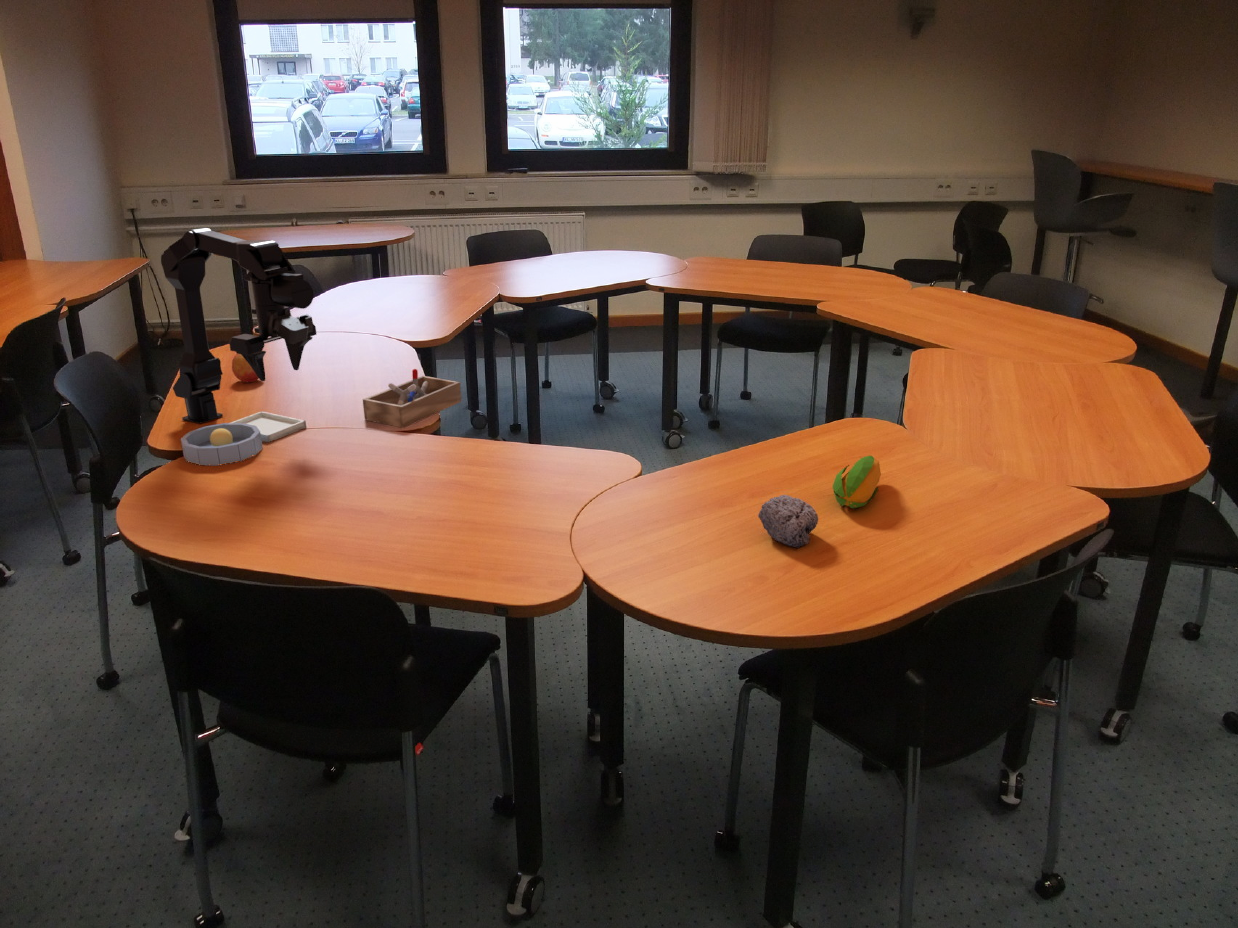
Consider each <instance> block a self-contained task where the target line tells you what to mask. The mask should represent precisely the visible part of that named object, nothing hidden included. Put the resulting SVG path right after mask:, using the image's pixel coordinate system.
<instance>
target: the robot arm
mask: <svg viewBox="0 0 1238 928" xmlns="http://www.w3.org/2000/svg"><path fill="white" fill-rule="evenodd" d="M212 254H214V255H217V256H220V257H222V258H223V257H224V258H227V259H231V260H233V261H236V262H237V264H238V265H239V267H241V268H243V269H245V270H246V271H248V273H246V274H245V275H244V276H243V280H244V281H246V282H251V288H252V295H253V303H254V308H253V307H252V308H251V309H250V310H251V311H250V312H251V314H253V315H256V322H257V327H254V329H253V330H254V334H250V333H249V334H248V333H243V334H239V335H235V336H232V337H231V338H230V340H229V341H228V344H229V349H230V351H231V352H235V353H236V354H241V355H242V356H243V357H244V358H245V360H246V361H247V362H248V363H249V365H250V366H251V367H252V369H253V370H254V372H255V373H256V375H257V376H258V378H259V379H258V380H260V381H261V382H265V381H266V370H265V363H264V362H265V361H264V356H265V355H266V353H267V350H264V348H265V344H268V343H271V342H275V341H279V340H282V339H284V343H285V346H286V349H287V350H286V351H287V353H288V357H289V360H290V364H291V367H292V368H293V371H298V370H300V364H301V360H302V357H303V352H304V350H305V349H304V348H305V346H306V344H308V343H309V341H312V340H313V336H316V335H317V328H316V326H315V324H314V323H313V321H314V320H313V318H312V316H311V315H309V314H307V313H306V314H302V315H300V316H295V317H294V316H293V315H292V313H291V309H290V308H295V309H301V310H302V309H304V310H305V309H307V308H308V307H309V306H311V304H312V303H313V300H314V295H315V294H314V289H313V287H312V285H311V284H310V283H309V282H308V281H307V280H305V278H304V275H303V273H296V271H295V268H293V264H291V262H290V261H289V260H288V258H287V256H286V254H285V253H284V252H283V249H282V248H281V247H280V246H279V243H278V242H277V241H275V240H271V239H253V240H248V239H247V240H245V239H243V238H239V237H235V236H231V235H228V234H225V233H222V232H218V231H214V230H211V229H210V228H207V227H201V228H194V229H188V230H187V231H186V232H185V233H184V234H183V235H182V237H181V238H179V239H178V240H177V241H175V242H174V243H172V244H171V245H169V246H168V248H166V249H165V250H164V251H163V253H162V254H161V256H160V264H161V266H162V270H163V274H164V277H165V279H166V280H167V281H168V282H169V283H170V284H171V286H172V287H173V288H174V290H175V297H176V303H177V309H178V310H177V311H178V315H179V316H178V317H179V323H180V328H181V336H182V341H183V342H182V343H183V346H184V353H183V355H182V358H181V360H180V362H179V364H178V365H179V368H178V369H179V376H178V379H177V380H176V382H175V383H174V385H173V387H172V389H173V393H174V395H175V397H176V398H180V399H181V398H182V399H184V404H185V408H186V413H187V415H185V416H183V417H181V418H182V420H183V421H186V422H191V423H195V424H204V423H208V422H211V421H212V420H213V421H214V420H216V419H218V418H221V417H223V416H224V415H223V413H219V412H218V411H217V404H216V400H215V396H214V392H216V391H219V390H221V382H222V376H223V375H224V373H223V371H222V364H221V360H220V358H219V357H215V355H214V354H213V353H212V351H210V349H209V343H208V342H209V341H208V336H207V335H208V334H207V328H206V321H205V315H204V307H203V302H202V300H203V299H202V294H201V287H202V284H203V281H204V279H205V277H206V263H207V261H208V260H209V259H210V257H211V256H212ZM255 334H259V335H255Z"/></svg>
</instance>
